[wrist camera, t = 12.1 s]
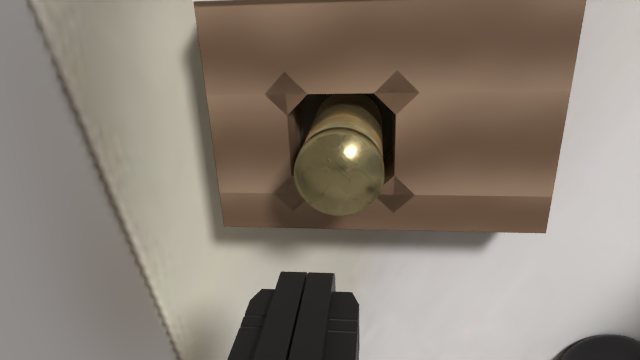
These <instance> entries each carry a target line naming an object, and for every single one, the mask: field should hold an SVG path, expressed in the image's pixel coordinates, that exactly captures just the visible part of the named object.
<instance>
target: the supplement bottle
mask: <svg viewBox="0 0 640 360" xmlns="http://www.w3.org/2000/svg"><path fill="white" fill-rule="evenodd" d="M560 360H640V341H638V340H635V339H633V338H630V337H626V336H621V335H599V336H594V337H590V338H587V339H584V340H582V341H580V342H578V343H576V344H575V345H573V346H572V347H570V348H569V349H568V350H567V351H566V352H565V353H564V354H563V356H562V357H561V358H560Z"/></svg>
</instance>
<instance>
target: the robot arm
mask: <svg viewBox="0 0 640 360" xmlns="http://www.w3.org/2000/svg"><path fill="white" fill-rule="evenodd" d="M228 360H359V304H358V302H357V300H356V299H355V297H354V295H353V293H352V292H335V274H334V273H311V272H309V273H307V272H281V273H280V276H279V279H278V282H277V285H276V288H275V289H261V290H260V291H259V292H258V293H257V294H256V295H255V296H254V297H253V298H252V299H251V300H250V302H249V305H248V307H247V310H246V313H245V317H244V318H243V320H242V323H241V327H240V328H239V331H238V334H237V336H236V339H235V341H234V344H233V347H232V349H231V352H230V354H229V357H228Z"/></svg>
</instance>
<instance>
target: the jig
mask: <svg viewBox="0 0 640 360" xmlns="http://www.w3.org/2000/svg"><path fill="white" fill-rule="evenodd" d="M192 1H194V8H195V15H196V23H197V30H198V37H199V45H200V52H201V59H202V67H203V74H204V82H205V89H206V96H207V104H208V111H209V118H210V126H211V133H212V140H213V148H214V155H215V163H216V170H217V177H218V185H219V192H220V199H221V207H222V214H223V221H224V226H230V227H277V228H324V229H371V230H418V231H466V232H513V233H546V229H547V223H548V217H549V212H550V206H551V200H552V194H553V189H554V183H555V177H556V171H557V166H558V160H559V154H560V148H561V143H562V137H563V131H564V126H565V120H566V114H567V108H568V103H569V97H570V91H571V85H572V80H573V74H574V68H575V62H576V57H577V51H578V45H579V39H580V34H581V28H582V22H583V17H584V11H585V5H586V0H191V2H192ZM353 93H374V94H375V95H376V96H377V97H378V98H379V99H380V100H381V101H382V102H383V103H384V104H385V105H386V106H387V107H388V108H389V109H390V110H391V111H392V112H393V145H392V151H390V152H389V153H388V154H387V155H386V156H385V157H384V158H383V161H384V184H383V188H382V190H381V193H380V194H379V196H378V198H377V199H376V200H375V201H374V202H373V203H372V204H371V205H370V206H369V207H368V208H366V209H365V210H363V211H361V212H359V213H356V214H352V215H347V216H333V215H328V214H325V213H322V212H320V211H318V210H316V209H314V208H313V207H312V206H310V205H309V204H308V203H307V202H306V201H305V200H304V199H303V198H302V196H301V195H300V193H299V192H298V189H297V187H296V184H295V180H294V166H295V162H296V159H297V157H298V154H299V152H300V150H301V148H302V145H301V127H300V110H299V103H300V102H301V101H302V100H303V98H304V97H305V96H306V95H307V94H353Z"/></svg>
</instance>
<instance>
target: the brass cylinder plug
mask: <svg viewBox="0 0 640 360" xmlns="http://www.w3.org/2000/svg"><path fill="white" fill-rule="evenodd" d="M294 180H295V184H296V187H297V189H298V192H299V193H300V195H301V196H302V198H303V199H304V200H305V201H306V202H307V203H308V204H309V205H310V206H312V207H313V208H314V209H316V210H318V211H320V212H322V213H325V214H328V215H333V216H347V215H352V214H356V213H359V212H361V211H363V210H365V209H366V208H368V207H369V206H370V205H371V204H372V203H373V202H374V201H375V200H376V199H377V198H378V196H379V194H380V193H381V190H382V188H383V184H384V161H383V144H382V118H381V114H380V111H379V109H378V107H377V106H376V104H375V103H374V102H373V101H372V100H371V99H370V98H369V97H367V96H366V95H364V94H362V93H353V94H333V95H331V96H330V97H328V98H327V99H326V100H325V101H324V102H323V103H322V104H321V106H320V108H319V110H318V112H317V114H316V117H315V119H314V121H313V124H312V126H311V129H310V131H309V133H308V136H307V138H306V140H305V143H304V145H303V146H302V148H301V150H300V152H299V154H298V157H297V159H296V162H295V166H294Z"/></svg>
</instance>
